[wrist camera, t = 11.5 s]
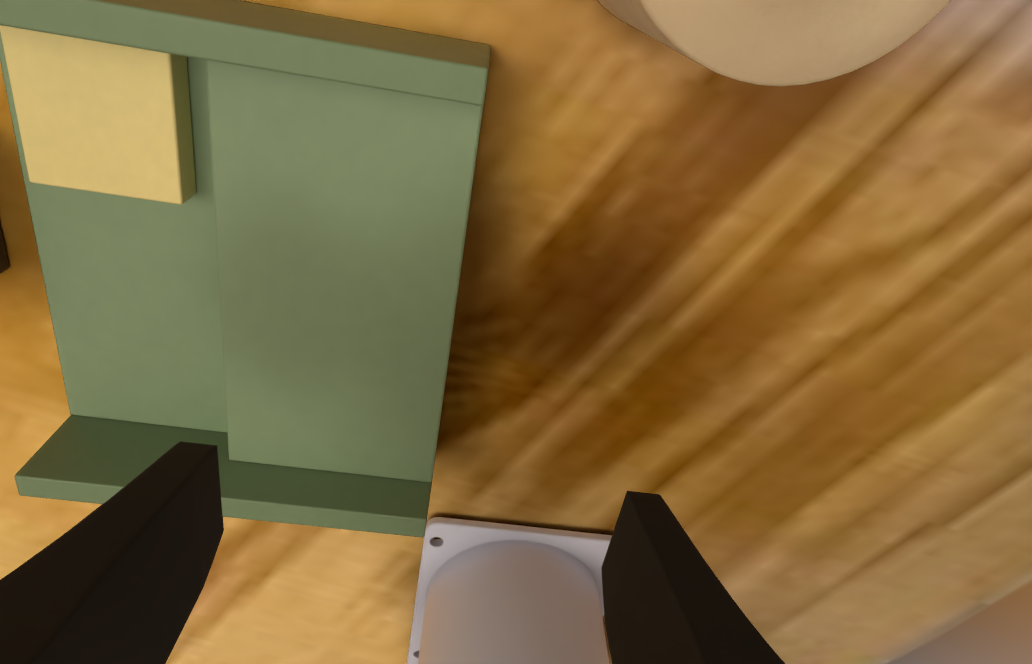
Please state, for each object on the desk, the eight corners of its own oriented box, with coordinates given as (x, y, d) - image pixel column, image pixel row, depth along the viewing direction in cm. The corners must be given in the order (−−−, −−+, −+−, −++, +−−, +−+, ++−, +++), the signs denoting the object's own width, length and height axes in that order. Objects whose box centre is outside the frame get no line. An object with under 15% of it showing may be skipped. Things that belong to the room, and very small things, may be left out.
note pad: (197, 194, 18) (182, 205, 17) (51, 172, 18) (28, 183, 17) (187, 46, 16) (169, 51, 16) (24, 18, 16) (-4, 21, 15)
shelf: (435, 451, 25) (424, 538, 21) (94, 411, 23) (18, 496, 20) (491, 44, 18) (489, 68, 14) (14, -41, 17) (-125, -39, 13)
